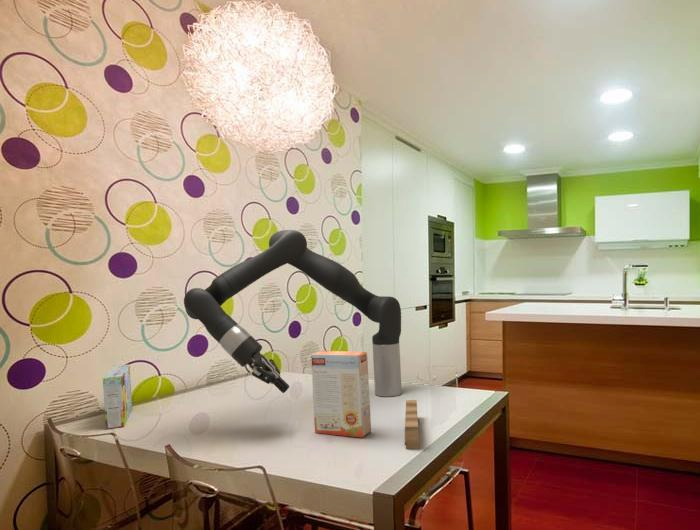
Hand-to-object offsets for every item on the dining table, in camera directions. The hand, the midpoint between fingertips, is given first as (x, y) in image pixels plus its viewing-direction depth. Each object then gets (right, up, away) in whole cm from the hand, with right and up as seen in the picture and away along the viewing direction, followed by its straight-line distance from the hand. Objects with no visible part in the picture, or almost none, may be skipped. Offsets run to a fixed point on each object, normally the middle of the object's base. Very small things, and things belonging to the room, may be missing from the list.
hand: (286, 390), depth 126 cm
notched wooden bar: (+33, -9, -5) cm, 34 cm away
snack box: (-55, -15, +21) cm, 60 cm away
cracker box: (+15, -11, -2) cm, 19 cm away
